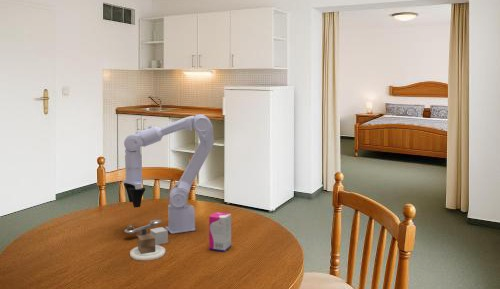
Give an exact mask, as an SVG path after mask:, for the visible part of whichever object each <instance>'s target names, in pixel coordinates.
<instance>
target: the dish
mask: <svg viewBox="0 0 500 289" xmlns="http://www.w3.org/2000/svg"><path fill="white" fill-rule="evenodd" d="M165 255H166V248H165V247H163V246H161V245H155V252H151V253H144V254H141V253H140V251H139V250H138V246H136V247H133V248H132V249H131V250H130V251H129V256H130V258H131V259H133V260H136V261H140V262H141V261H144V262H145V261H153V260H157V259H160V258H162V257H164V256H165Z"/></svg>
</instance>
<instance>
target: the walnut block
mask: <svg viewBox="0 0 500 289" xmlns="http://www.w3.org/2000/svg"><path fill="white" fill-rule="evenodd" d="M137 247H138V250H139V251H140V253H141V254H144V253H151V252H155V237H154V236H153V235H152V234H150V233H149V234H147V235H140V236H138V238H137Z"/></svg>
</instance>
